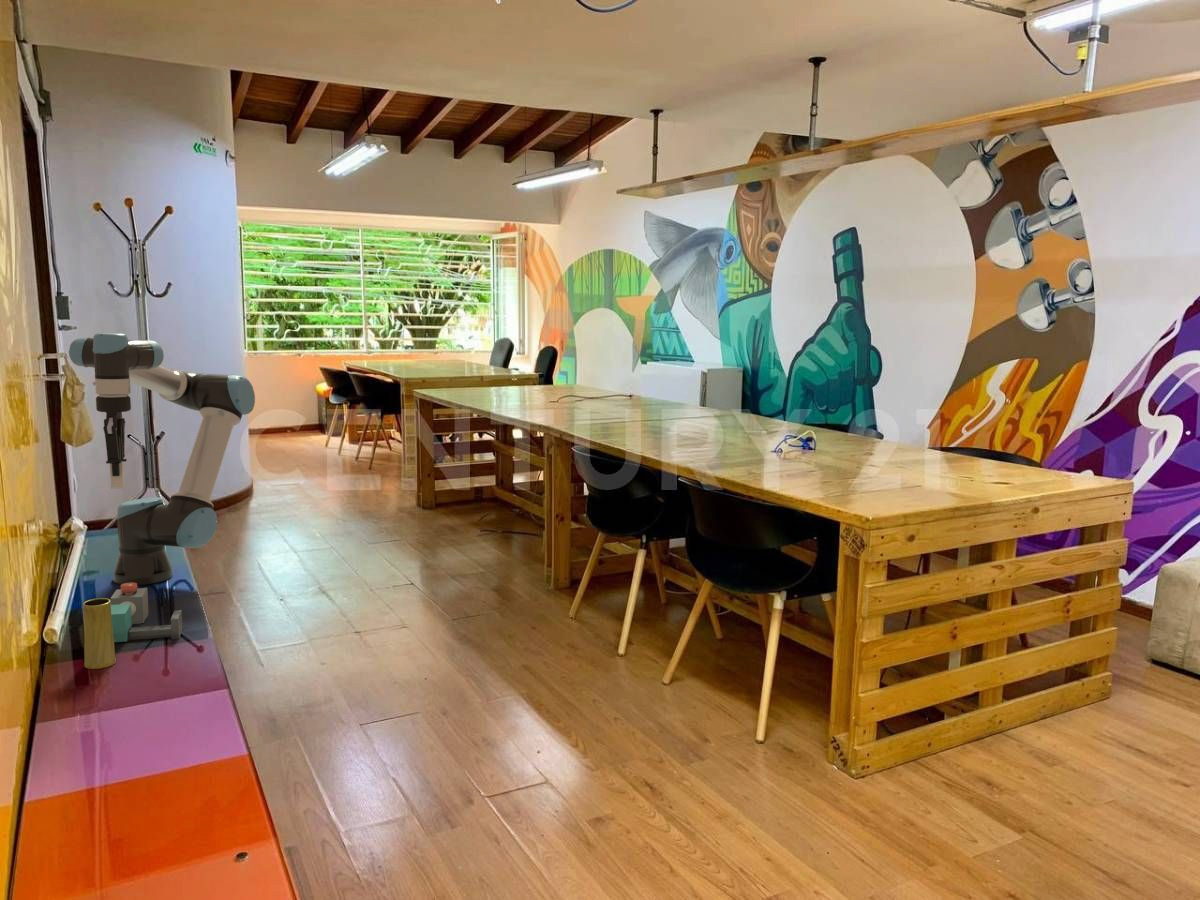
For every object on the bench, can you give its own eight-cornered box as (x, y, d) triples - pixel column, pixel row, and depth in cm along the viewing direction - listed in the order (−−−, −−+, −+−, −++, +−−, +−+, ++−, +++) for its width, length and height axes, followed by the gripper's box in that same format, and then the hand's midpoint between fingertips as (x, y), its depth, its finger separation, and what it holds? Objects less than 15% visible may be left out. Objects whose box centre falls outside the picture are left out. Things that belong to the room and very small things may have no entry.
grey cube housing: (117, 616, 215) (116, 589, 214) (148, 614, 218) (147, 587, 217) (111, 626, 209) (110, 598, 208) (143, 623, 211) (142, 596, 210)
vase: (78, 665, 186) (74, 603, 183) (105, 656, 191) (102, 595, 189) (95, 671, 183) (91, 608, 181) (122, 662, 188) (119, 600, 186)
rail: (87, 645, 196) (86, 625, 196) (93, 636, 202) (92, 616, 201) (178, 638, 203) (178, 618, 202) (182, 629, 208) (181, 610, 207)
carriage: (97, 644, 197) (95, 615, 195) (104, 633, 203) (102, 605, 202) (126, 642, 198) (125, 613, 197) (132, 631, 205) (130, 603, 204)
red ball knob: (123, 602, 214) (122, 582, 213) (139, 601, 215) (138, 582, 214) (120, 607, 210) (119, 587, 210) (136, 606, 212) (135, 586, 211)
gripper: (102, 392, 216) (106, 483, 220) (89, 397, 204) (94, 493, 208) (135, 393, 218) (139, 482, 222) (124, 398, 206) (129, 492, 210)
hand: (117, 487), depth 215 cm, fingers closed
